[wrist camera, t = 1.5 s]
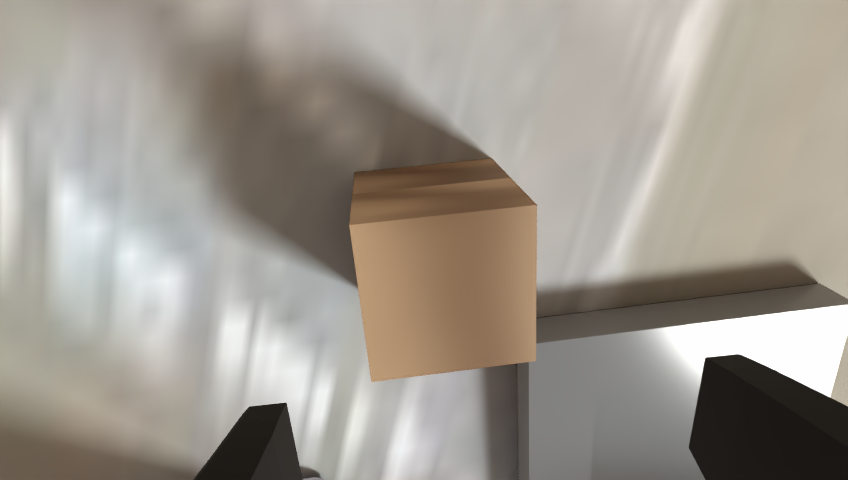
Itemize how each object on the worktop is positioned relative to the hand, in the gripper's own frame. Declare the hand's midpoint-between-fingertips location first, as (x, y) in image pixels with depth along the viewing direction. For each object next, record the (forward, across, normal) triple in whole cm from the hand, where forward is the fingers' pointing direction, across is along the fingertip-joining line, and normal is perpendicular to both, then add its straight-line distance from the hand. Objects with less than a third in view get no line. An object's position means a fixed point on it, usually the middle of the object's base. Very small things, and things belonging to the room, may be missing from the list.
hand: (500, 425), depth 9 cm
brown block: (+10, 0, 0) cm, 10 cm away
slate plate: (+9, -9, +10) cm, 16 cm away
